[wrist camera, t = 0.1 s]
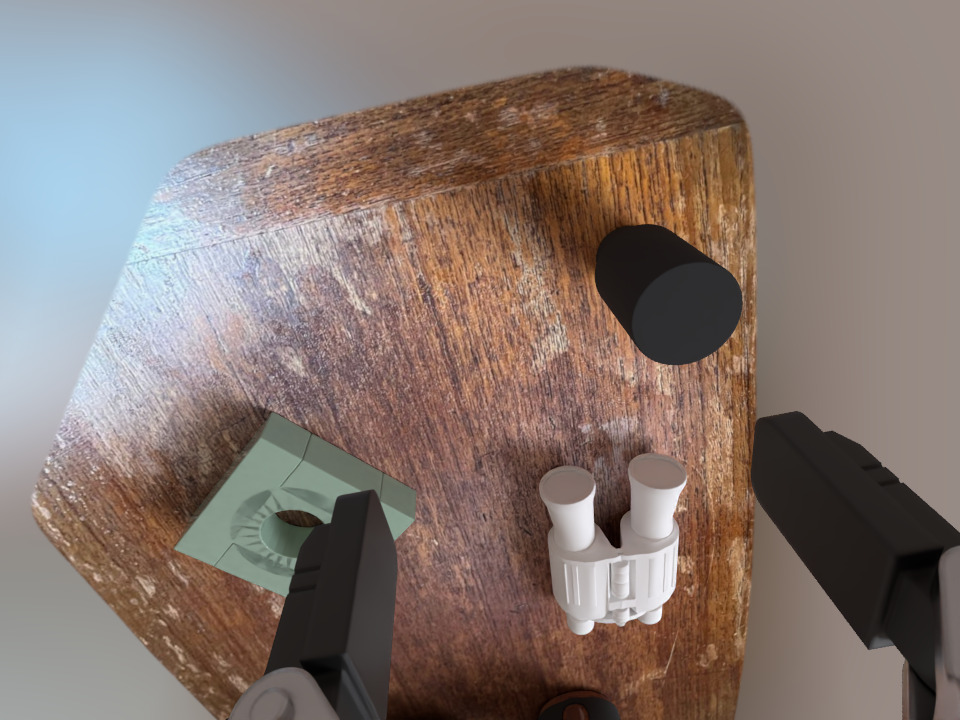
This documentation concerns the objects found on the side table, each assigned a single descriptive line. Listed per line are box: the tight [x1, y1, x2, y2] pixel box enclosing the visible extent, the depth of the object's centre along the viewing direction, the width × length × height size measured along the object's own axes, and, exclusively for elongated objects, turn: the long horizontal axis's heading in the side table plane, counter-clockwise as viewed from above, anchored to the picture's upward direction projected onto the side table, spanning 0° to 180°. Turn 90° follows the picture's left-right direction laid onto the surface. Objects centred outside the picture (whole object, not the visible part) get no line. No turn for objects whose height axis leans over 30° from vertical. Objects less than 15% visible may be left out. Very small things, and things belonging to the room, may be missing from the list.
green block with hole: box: [174, 412, 416, 597], centre depth 39 cm, size 12×12×3 cm
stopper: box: [595, 224, 743, 365], centre depth 29 cm, size 5×5×9 cm
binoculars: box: [539, 453, 687, 635], centre depth 42 cm, size 10×16×5 cm, turn 8°
